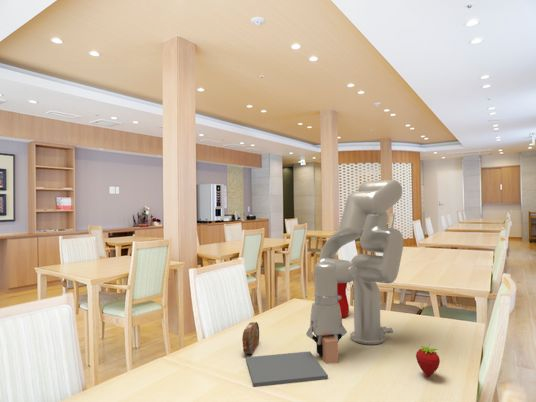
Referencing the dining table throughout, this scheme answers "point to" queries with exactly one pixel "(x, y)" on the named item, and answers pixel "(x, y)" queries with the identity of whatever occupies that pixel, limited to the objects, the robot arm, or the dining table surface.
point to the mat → (284, 368)
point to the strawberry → (428, 360)
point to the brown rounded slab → (250, 338)
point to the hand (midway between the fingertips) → (327, 354)
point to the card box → (330, 349)
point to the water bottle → (343, 299)
